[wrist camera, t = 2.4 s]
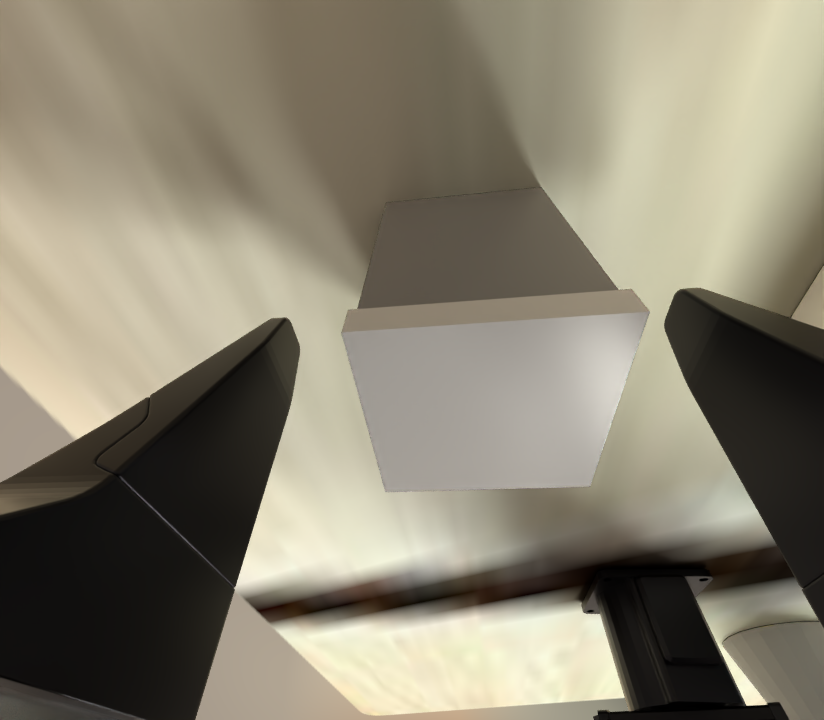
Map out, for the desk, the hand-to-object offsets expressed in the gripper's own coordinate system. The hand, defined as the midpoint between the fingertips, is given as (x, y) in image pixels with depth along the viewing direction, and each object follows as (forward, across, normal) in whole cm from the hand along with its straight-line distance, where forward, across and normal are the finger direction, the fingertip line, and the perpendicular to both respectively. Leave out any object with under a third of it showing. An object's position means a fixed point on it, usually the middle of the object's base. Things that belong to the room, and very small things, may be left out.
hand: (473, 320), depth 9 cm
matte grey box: (+3, 0, 0) cm, 3 cm away
